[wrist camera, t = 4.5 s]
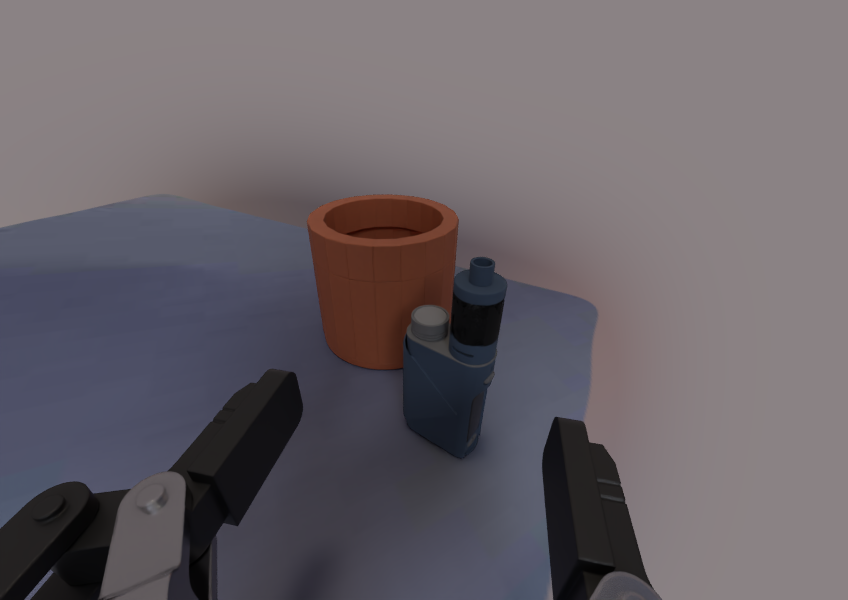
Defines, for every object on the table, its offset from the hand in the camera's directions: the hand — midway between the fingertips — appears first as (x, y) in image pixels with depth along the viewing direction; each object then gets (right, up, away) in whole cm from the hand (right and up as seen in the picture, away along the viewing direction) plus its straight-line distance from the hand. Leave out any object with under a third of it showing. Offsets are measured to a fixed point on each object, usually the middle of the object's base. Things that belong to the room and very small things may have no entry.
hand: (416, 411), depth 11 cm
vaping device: (+1, -5, +12) cm, 13 cm away
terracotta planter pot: (-3, +1, +20) cm, 20 cm away
